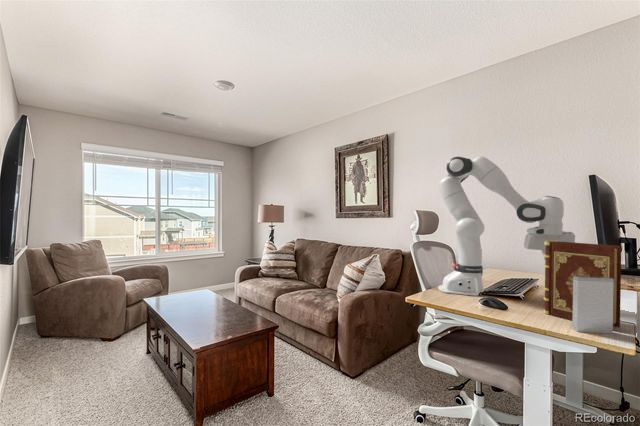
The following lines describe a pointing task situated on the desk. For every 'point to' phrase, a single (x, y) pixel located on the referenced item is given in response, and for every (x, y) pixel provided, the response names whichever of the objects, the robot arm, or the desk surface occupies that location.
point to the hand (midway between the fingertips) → (548, 260)
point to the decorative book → (578, 274)
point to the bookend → (593, 304)
